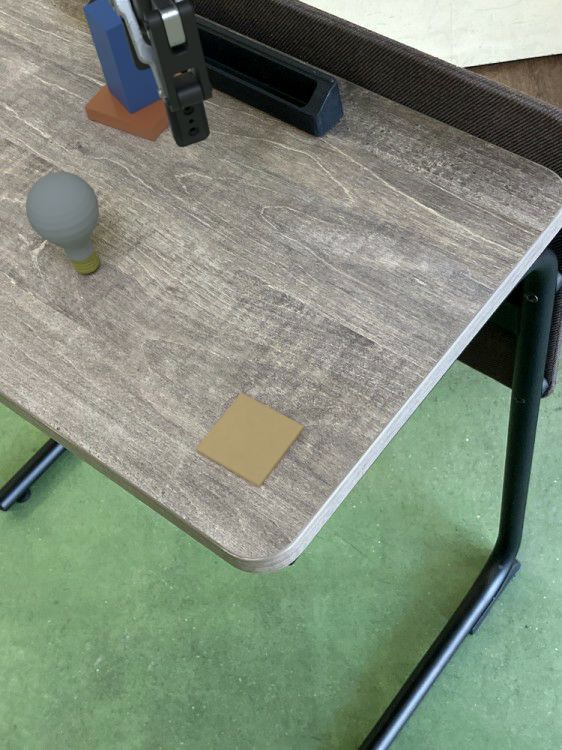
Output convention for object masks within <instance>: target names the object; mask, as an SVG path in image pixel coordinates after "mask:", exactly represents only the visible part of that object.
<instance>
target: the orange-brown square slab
mask: <svg viewBox="0 0 562 750" xmlns="http://www.w3.org/2000/svg"><path fill="white" fill-rule="evenodd" d="M180 74H182V72H180V73H177V74H175V75H174V77H175V76H178V75H180ZM84 110H85V113H86V117H87V119H88V120H91V121H93V122H97V123H99V124H102V125H104V126H105V125H106V126H107V127H111V128H114V129H117V130H120V131H122V132H126V133H128V134H131V135H134V136H136V137H140V138H143V139H146V140H149V141H151V142H155V140H157V138H158V137H159V136H160V135H161V134H162V132H163V131H165V129H166V128H167V127H168V126H169V125H170V124H169V121H168V117H167V113H166V109H165V106H164V102H163V99H162V98H161V99H159V100H158V101H156V102H154V103H152V104H150V105H148V106H146V107H144V108H142V109H140V110H138V111H136V112H135V113H133V114H130V113H129V111H128V110H127V109H126V108H125V107H124V106H123V105H122V104H121V103H120V102H119V101H118V100H117V99H116V98H115V97H114V95H113V94H112V93H111V92H110V91H109V89H108V86H107V83H106V82H105V84H104V85H103V86H102V87H101V88H100V89H99V90H98V91H97V93H96V94H94V96H93V97H92V98H91V99H90V100H89V101H87V103H86V104H85V105H84Z"/></svg>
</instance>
